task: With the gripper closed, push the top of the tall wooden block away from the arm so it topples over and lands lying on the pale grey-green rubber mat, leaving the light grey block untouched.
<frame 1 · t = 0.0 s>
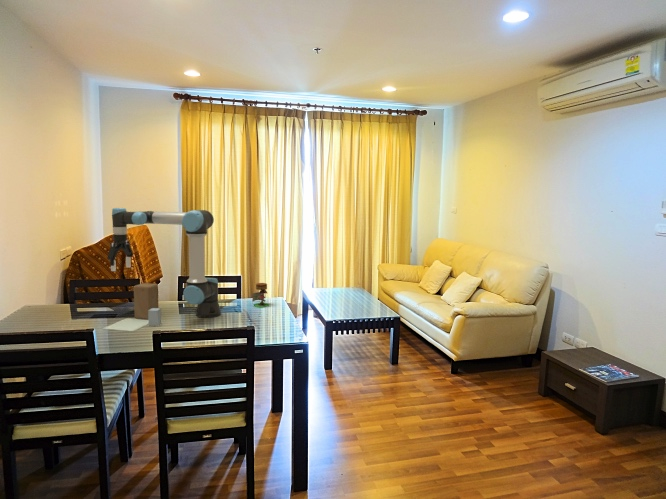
hand: (121, 269, 251), 28 cm above the table, fingers open, 13 cm apart
wooden block: (146, 317, 250), on the table
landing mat: (129, 325, 234), on the table
light grey block: (155, 324, 236), on the table
figurine on green base: (261, 305, 285), on the table
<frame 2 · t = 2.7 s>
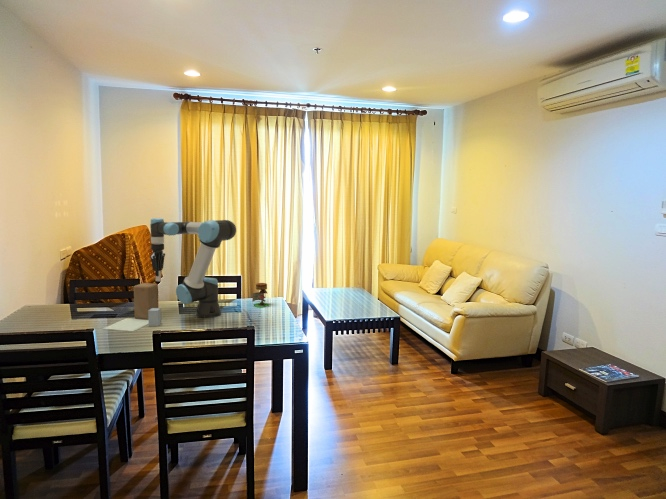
hand: (158, 280, 261), 20 cm above the table, fingers closed
nothing on the table moved.
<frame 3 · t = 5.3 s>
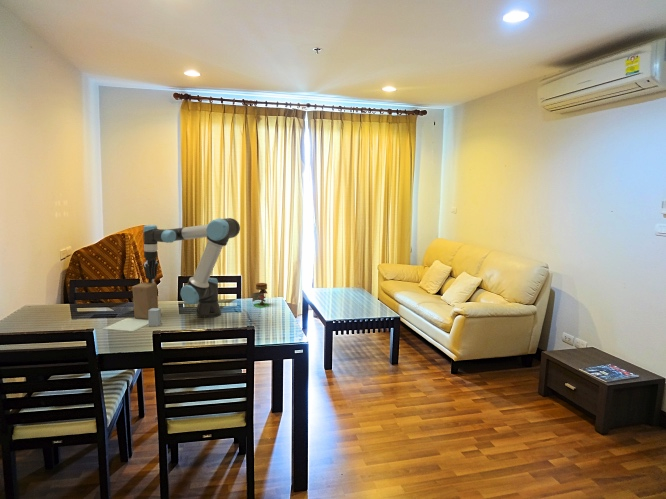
hand: (151, 289, 254), 16 cm above the table, fingers closed
wooden block: (146, 317, 250), on the table, touching gripper
everything else where it was.
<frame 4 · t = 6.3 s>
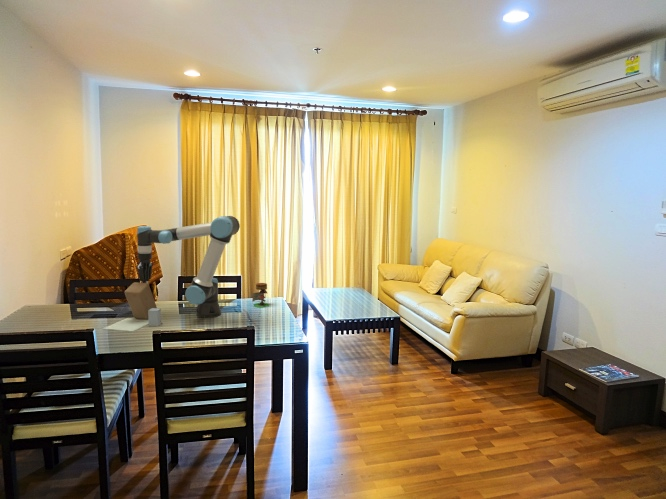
hand: (145, 292, 248), 16 cm above the table, fingers closed
wooden block: (146, 314, 250), point 2 cm above the table
everything else where it was.
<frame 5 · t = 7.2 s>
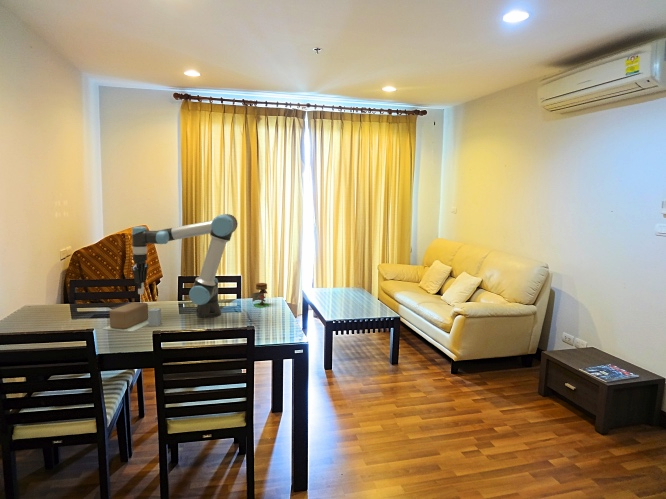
hand: (141, 293, 244), 15 cm above the table, fingers closed
wooden block: (141, 310, 245), point 5 cm above the table, touching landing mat
everything else where it was.
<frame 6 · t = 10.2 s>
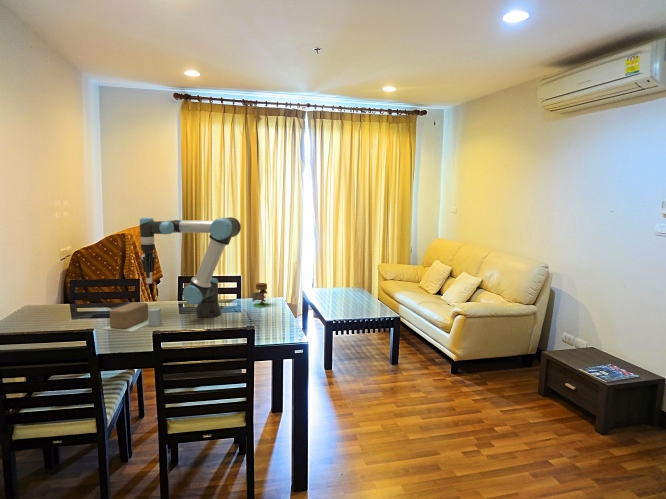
hand: (149, 283, 250), 20 cm above the table, fingers closed
nothing on the table moved.
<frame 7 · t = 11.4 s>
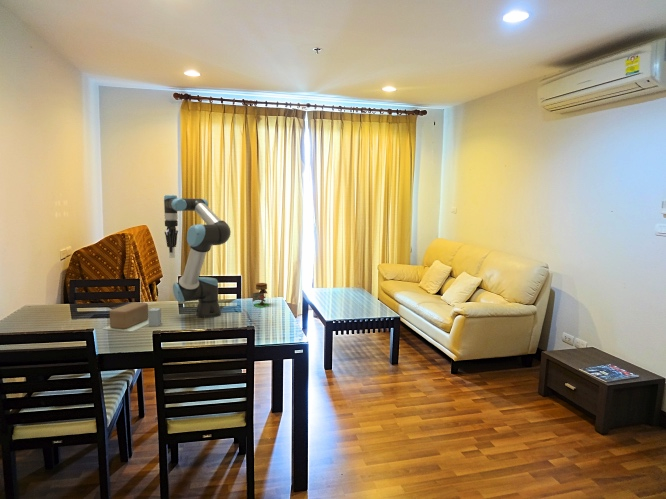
hand: (172, 257, 263), 34 cm above the table, fingers closed
nothing on the table moved.
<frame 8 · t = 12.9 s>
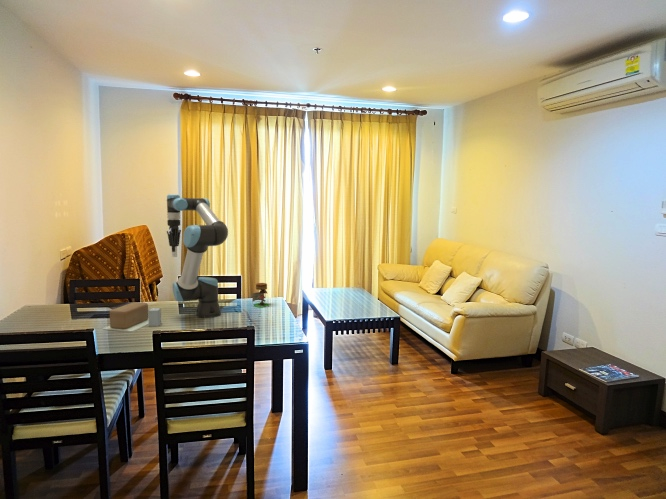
hand: (174, 256, 264), 34 cm above the table, fingers closed
nothing on the table moved.
at the end: wooden block tilted 90°; wooden block inside the target area on the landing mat (4.8 cm from its centre), point 5.5 cm above the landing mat's base; light grey block moved 0.1 cm from its start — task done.
